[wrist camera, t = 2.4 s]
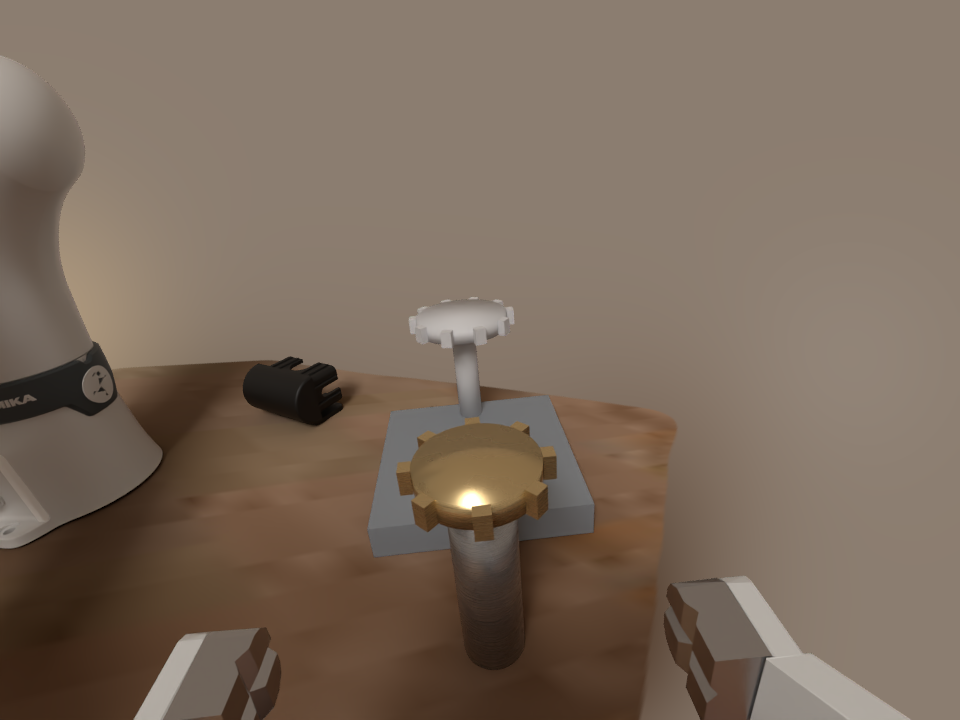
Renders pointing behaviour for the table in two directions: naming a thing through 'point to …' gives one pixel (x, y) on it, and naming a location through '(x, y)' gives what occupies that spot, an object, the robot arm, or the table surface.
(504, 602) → the gear axle
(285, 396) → the end cap
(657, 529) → the table surface
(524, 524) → the gear board
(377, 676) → the table surface
